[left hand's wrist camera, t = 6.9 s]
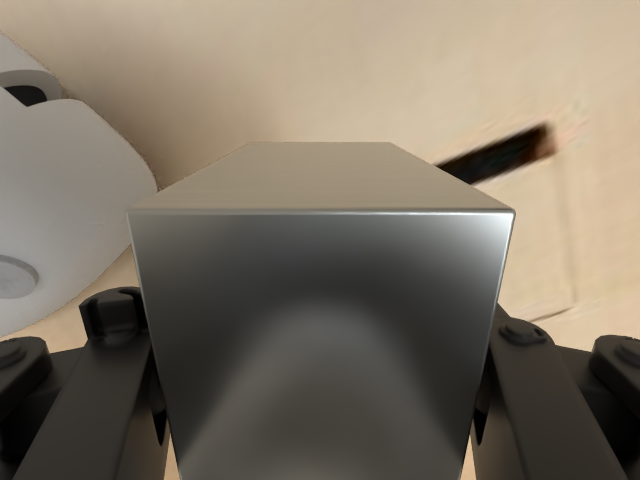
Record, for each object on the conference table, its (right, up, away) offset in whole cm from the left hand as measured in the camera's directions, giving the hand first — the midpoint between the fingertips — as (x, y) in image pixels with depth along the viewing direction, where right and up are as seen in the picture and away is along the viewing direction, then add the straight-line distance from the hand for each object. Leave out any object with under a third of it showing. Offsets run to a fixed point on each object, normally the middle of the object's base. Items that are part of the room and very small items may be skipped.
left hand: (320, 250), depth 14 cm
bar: (0, -7, +3) cm, 8 cm away
